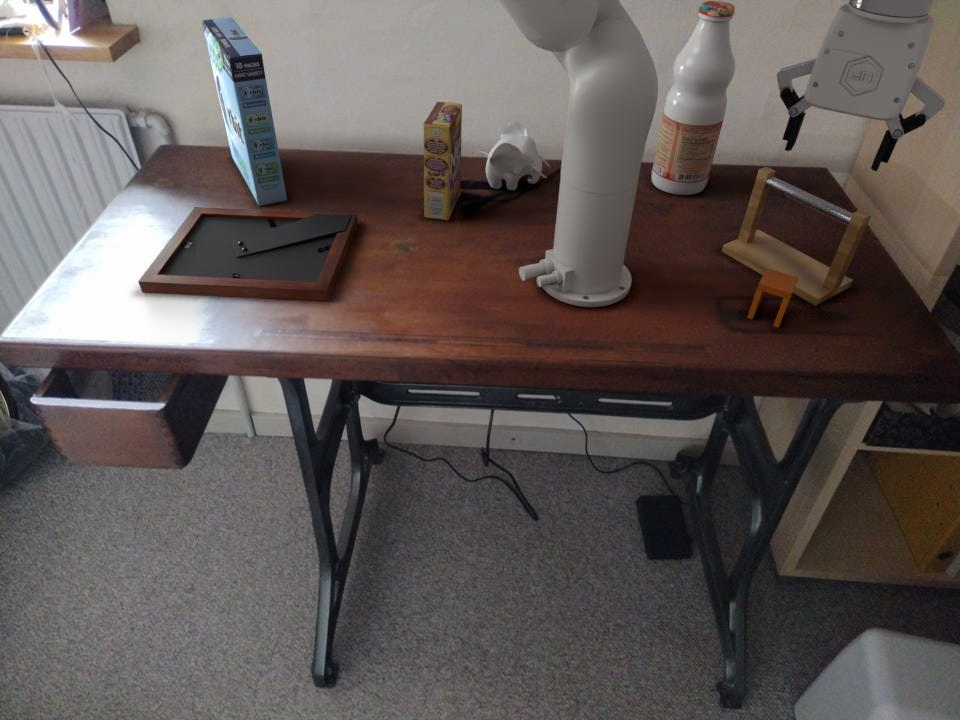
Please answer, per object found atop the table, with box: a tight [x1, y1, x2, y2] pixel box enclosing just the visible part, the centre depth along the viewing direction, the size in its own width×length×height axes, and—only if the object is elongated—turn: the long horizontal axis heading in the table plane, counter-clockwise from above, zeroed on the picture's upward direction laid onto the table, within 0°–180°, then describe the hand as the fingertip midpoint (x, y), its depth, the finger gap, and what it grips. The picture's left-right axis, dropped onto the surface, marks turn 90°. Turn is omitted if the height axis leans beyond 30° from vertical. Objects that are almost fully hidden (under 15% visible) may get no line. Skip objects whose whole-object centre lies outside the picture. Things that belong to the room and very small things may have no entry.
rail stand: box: [721, 166, 872, 306], centre depth 94 cm, size 8×16×12 cm, turn 34°
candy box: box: [423, 101, 463, 221], centre depth 105 cm, size 9×4×15 cm, turn 169°
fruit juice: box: [650, 0, 736, 196], centre depth 108 cm, size 9×9×28 cm
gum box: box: [201, 16, 288, 207], centre depth 108 cm, size 20×5×23 cm, turn 27°
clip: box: [746, 268, 798, 329], centre depth 88 cm, size 4×4×6 cm
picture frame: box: [138, 206, 359, 302], centre depth 98 cm, size 20×2×25 cm
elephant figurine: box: [479, 121, 552, 191], centre depth 113 cm, size 10×12×9 cm
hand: (831, 156), depth 81 cm, fingers open, 9 cm apart
